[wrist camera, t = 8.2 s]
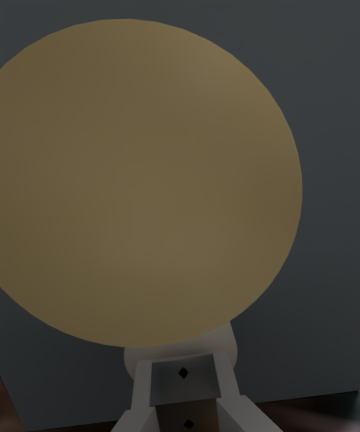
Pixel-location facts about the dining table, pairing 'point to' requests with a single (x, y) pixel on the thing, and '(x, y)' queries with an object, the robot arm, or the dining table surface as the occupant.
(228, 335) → the knob lower
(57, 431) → the dining table surface
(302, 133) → the console
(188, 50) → the knob upper
